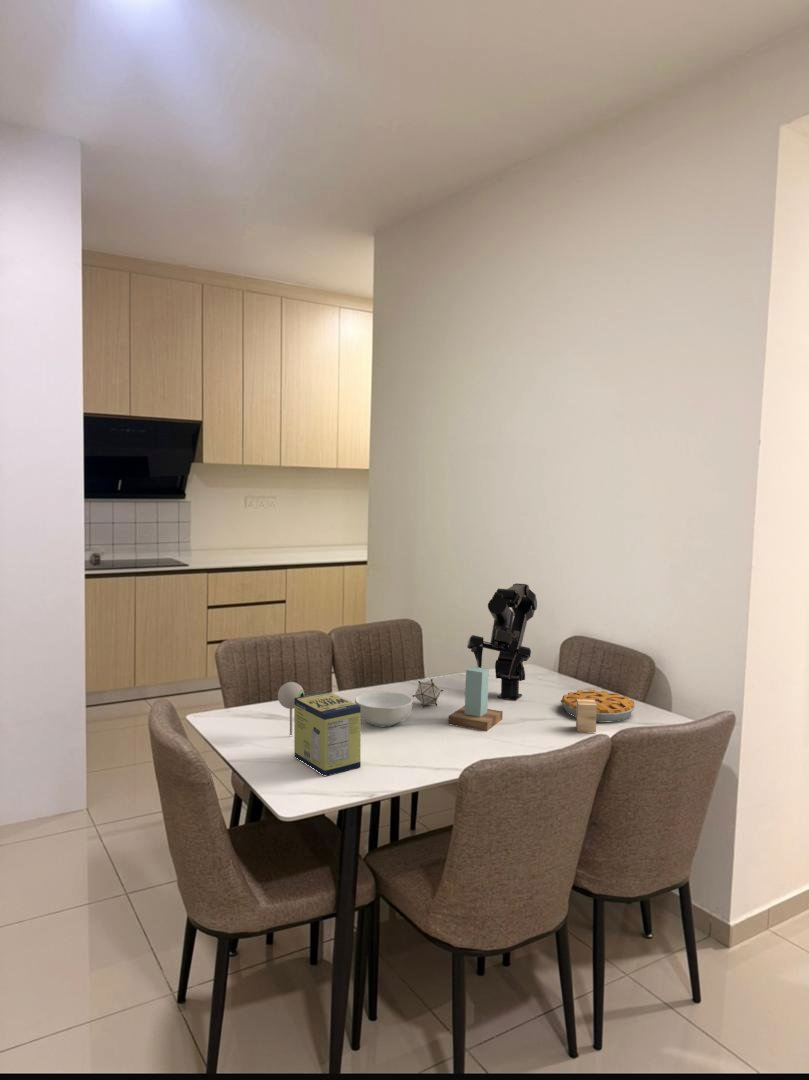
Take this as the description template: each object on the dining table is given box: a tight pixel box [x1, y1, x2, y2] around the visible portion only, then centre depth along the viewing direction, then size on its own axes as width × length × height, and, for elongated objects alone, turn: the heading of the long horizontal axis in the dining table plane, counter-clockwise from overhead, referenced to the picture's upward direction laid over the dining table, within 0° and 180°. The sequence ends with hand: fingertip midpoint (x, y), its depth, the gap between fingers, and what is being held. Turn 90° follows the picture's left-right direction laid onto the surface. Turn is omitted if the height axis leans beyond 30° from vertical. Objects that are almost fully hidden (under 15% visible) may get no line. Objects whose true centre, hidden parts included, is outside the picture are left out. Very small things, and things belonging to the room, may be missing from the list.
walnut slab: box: [447, 705, 504, 732], centre depth 221 cm, size 12×12×3 cm
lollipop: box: [277, 681, 305, 736], centre depth 205 cm, size 7×7×15 cm
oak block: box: [575, 699, 597, 733], centre depth 214 cm, size 5×5×8 cm
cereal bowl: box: [354, 691, 413, 727], centre depth 219 cm, size 17×17×7 cm
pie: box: [560, 689, 636, 722], centre depth 231 cm, size 22×22×5 cm
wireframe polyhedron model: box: [412, 678, 444, 709], centre depth 235 cm, size 9×8×10 cm
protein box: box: [293, 691, 362, 776], centre depth 187 cm, size 10×16×16 cm
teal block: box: [464, 666, 490, 717], centre depth 220 cm, size 5×5×13 cm
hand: (494, 675), depth 227 cm, fingers open, 9 cm apart
